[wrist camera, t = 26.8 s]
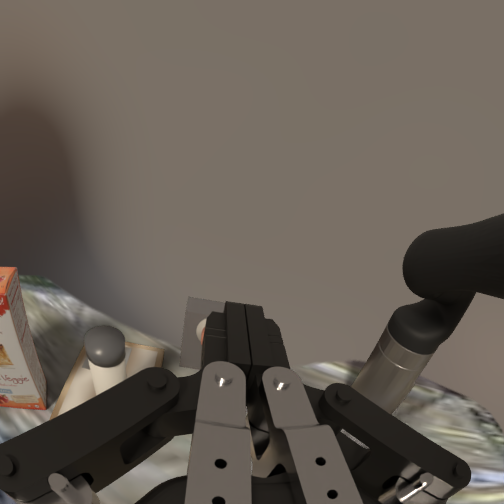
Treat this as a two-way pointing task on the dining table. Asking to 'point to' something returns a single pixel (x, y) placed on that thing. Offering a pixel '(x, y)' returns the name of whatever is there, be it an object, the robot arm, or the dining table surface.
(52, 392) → the dining table surface
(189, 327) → the button panel
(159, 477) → the dining table surface
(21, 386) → the cracker box
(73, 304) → the dining table surface
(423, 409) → the dining table surface
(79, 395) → the beige board with ring
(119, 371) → the white shaker grey cap
